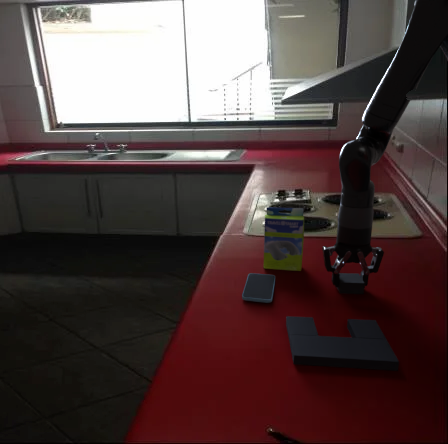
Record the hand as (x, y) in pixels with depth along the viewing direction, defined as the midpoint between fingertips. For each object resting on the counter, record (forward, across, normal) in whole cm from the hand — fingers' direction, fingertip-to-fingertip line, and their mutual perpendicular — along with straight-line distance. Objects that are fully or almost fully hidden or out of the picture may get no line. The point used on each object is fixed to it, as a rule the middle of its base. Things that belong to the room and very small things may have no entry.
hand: (349, 286), depth 105 cm
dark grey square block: (+1, 0, 0) cm, 1 cm away
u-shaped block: (+1, -8, -25) cm, 26 cm away
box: (+1, -15, +12) cm, 19 cm away
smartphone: (+1, -22, -2) cm, 22 cm away
